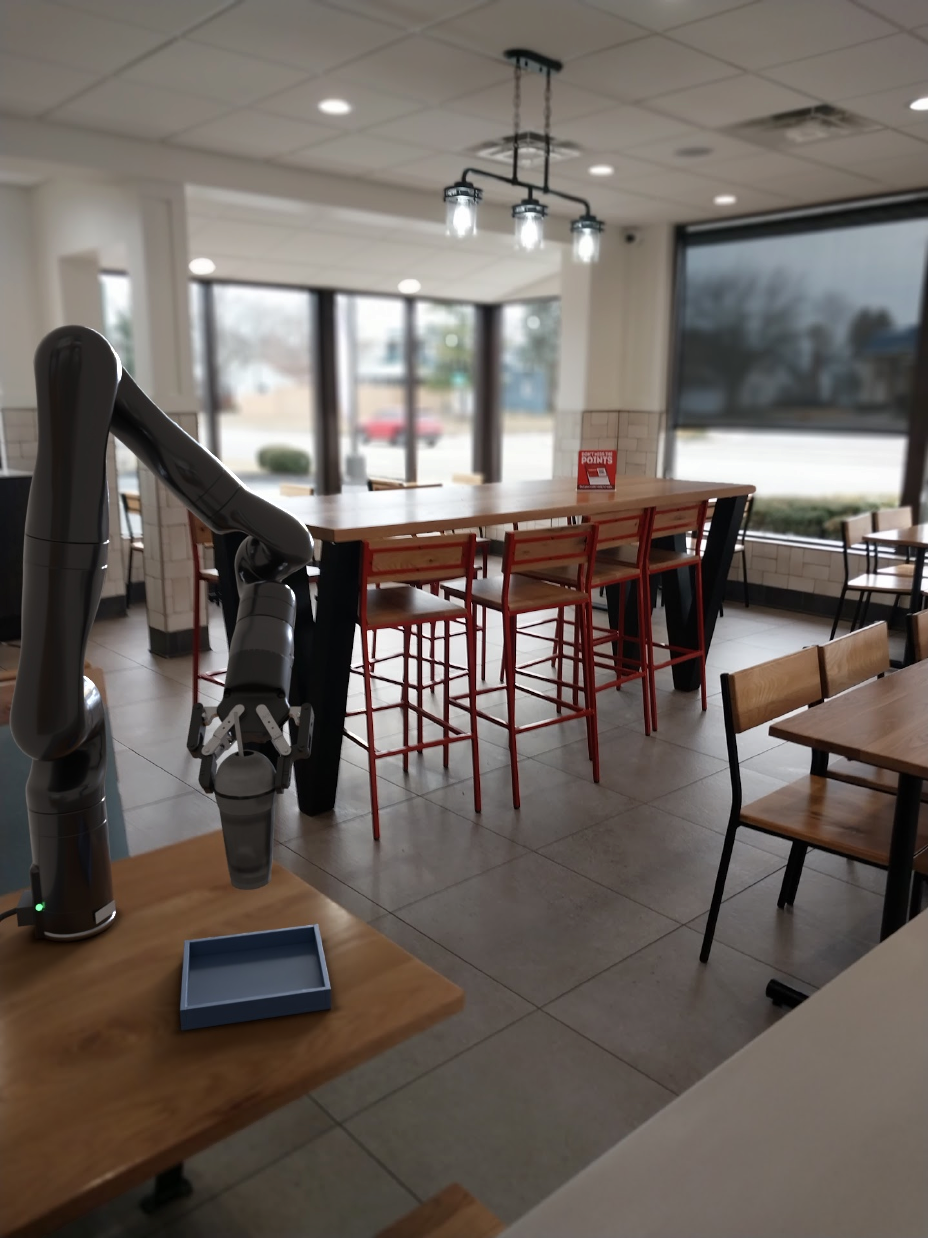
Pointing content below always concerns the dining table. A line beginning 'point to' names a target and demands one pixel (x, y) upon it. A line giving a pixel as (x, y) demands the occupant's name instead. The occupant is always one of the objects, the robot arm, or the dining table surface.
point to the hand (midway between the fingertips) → (243, 791)
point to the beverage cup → (247, 814)
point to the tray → (253, 977)
